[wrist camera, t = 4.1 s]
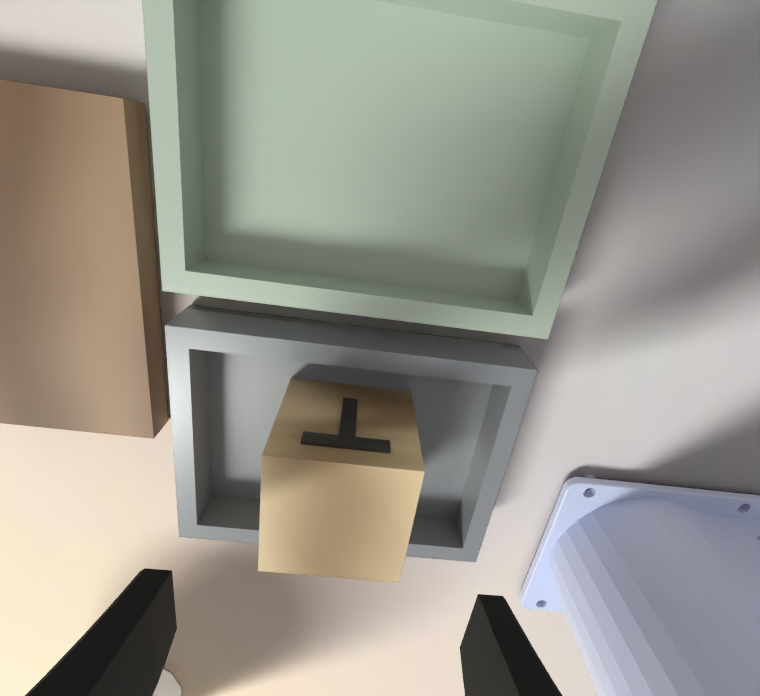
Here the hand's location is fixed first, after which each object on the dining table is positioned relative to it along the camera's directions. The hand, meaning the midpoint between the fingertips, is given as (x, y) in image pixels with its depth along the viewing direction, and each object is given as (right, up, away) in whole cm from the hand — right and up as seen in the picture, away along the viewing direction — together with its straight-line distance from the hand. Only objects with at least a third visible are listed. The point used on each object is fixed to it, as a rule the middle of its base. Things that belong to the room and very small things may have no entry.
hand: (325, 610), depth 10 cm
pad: (-10, +9, +4) cm, 14 cm away
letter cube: (0, +3, +7) cm, 7 cm away
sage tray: (+1, +12, +3) cm, 13 cm away
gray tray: (0, +3, +7) cm, 8 cm away
